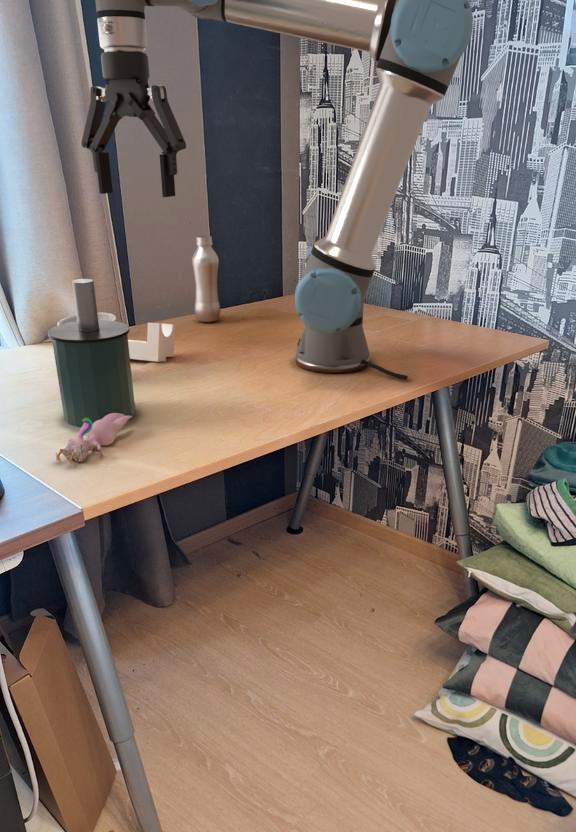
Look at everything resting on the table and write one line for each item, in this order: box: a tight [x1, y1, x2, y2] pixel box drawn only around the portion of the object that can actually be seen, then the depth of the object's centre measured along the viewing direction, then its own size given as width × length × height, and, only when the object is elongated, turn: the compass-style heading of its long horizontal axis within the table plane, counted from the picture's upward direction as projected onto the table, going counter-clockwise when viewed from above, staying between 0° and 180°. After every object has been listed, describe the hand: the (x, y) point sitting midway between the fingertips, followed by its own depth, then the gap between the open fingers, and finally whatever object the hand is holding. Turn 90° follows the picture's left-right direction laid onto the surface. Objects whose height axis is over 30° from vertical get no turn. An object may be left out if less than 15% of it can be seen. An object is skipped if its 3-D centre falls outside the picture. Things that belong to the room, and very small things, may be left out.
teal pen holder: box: [51, 334, 137, 428], centre depth 118 cm, size 12×12×14 cm
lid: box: [47, 278, 131, 343], centre depth 113 cm, size 13×13×9 cm
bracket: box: [128, 322, 176, 363], centre depth 151 cm, size 13×7×8 cm, turn 72°
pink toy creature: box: [55, 413, 133, 468], centre depth 109 cm, size 6×6×15 cm
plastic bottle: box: [191, 235, 222, 323], centre depth 175 cm, size 6×7×20 cm
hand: (137, 195), depth 126 cm, fingers open, 13 cm apart
